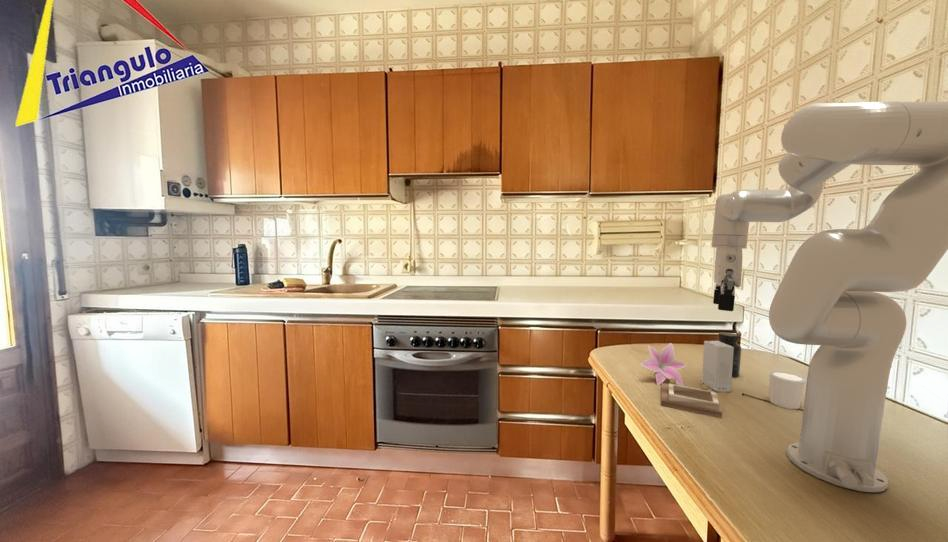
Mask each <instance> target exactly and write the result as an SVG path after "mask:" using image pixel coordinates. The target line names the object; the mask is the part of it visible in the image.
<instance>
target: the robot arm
mask: <svg viewBox="0 0 948 542" xmlns="http://www.w3.org/2000/svg"><path fill="white" fill-rule="evenodd" d="M780 136H781V137H780V140H781V141H780V142H781V145H782V148H783V149H784V150H785V151H786V152H787V153H786V154H784V156H782V157H781V159H780V161H779V162H778V173H779V175H780V177H781V179H782V180H783V181H784V182H785V183H786V184H787V185H789V186H788V187H787V188H785V189H781V190H780V189H739V190H738V189H737V190H734V191H733V192H731V193H724V194H720V195H719V196H717V198H716V200H715V208H714V218H713V228H712V229H713V230H712V239H711V248H716V252H715V260H714V269H713V270H714V272H713V274H714V275H713V281H714V283H715V285H714V291H713V300H712V301H713V304H714V305H717V310H718V311H723V312H724V311H726V312H733V311H734V309H735V298H736V295H735V292H736V291H735V289H736V288H740V287H741V286H742V274H743V273H742V272H743V249H744V250H745V249H747V246H748V238H749V236H748V235H749V226H750V223H783V222H787V221H790V220H792V219H794V218H797V217H798V216H799V215H802V214H804V213H805V212H806V211H808V210H809V209H812V207H813V206H814V205H816V203H817V202H818V201H819V199H820V197H821V195H822V192H823V190H824V185H825V184H824V182H826V181H828V180H829V179H831V178H833V177H834V176H835V175H837V174H838V173H840V172H842V171H843V170H845V169H846V168H848V167H849V166H851V165H860V166H917V167H919V171H918V172H917V173H915V174H914V175H912V176H910V177H908V178H907V179H905V180H904V181H902V183H900V184H899V185H898V186H897V187H895V188H894V189H893V190H892V191H891V192H890V193H889V194H888V195H887V196H886V197H885V199H884V200H883V201H882V202H881V204H880V206H879V208H878V210H877V212H876V213H875V215H874V216H873V217H872V219H871V220H870V222H869V223H868V224H867V225H866V226H865V227H863V228H861V229H859V228H857V229H856V228H853V229H852V228H836V229H835V228H834V229H833V228H832V229H827V230H822V231H820V232H817V233H815V234H813V235H811V236H809V238H807V239H806V240H805V241H804V242H802V244H801V245H799V247H798V248H797V250H796V251H795V253H794V255H793V257H792V259H791V261H790V262H789V266H788V267H787V269H786V271H785V274H784V275H783V277H782V280H781V281H780V284H779V286H778V288H777V289H776V292H775V294H774V296H773V298H772V301H771V303H770V307H769V312H768V321H769V325H770V328H771V330H772V331H773V333H774V334H775V335H776V336H777V337H778V338H780V339H781V340H783V341H785V342H788V343H792V344H797V345H806V346H818V348H817V349H816V350H815V352H814V353H813V355H812V357H811V359H810V362H809V366H808V370H807V371H808V372H807V378H806V384H805V386H806V387H805V393H804V403H803V411H802V418H801V428H800V433H799V434H800V436H799V441H798V442H794V443H790V444H788V446H787V448H786V455H787V457H788V458H789V460H790V461H791V462H792V463H793V464H794V465H795V466H797V467H798V468H800V469H801V470H802V471H804V472H806V473H808V474H809V475H811V476H814V477H816V478H818V479H820V480H823V481H824V482H827V483H830V484H833V485H835V486H839V487H842V488H844V489H849V490H853V491H856V492H864V493H881V492H884V491H886V490H887V489H886V488H888V485H889V479H888V476H886V475H885V474H884V472H883V471H882V470H880V469H879V468H878V467H876V466H877V460H878V454H879V453H878V452H879V446H880V438H881V433H882V424H883V418H884V411H885V410H884V409H885V406H886V404H885V403H886V397H887V391H888V385H889V379H890V374H891V369H892V365H893V362H894V359H895V356H896V353H897V351H898V348H899V346H900V344H901V342H902V340H903V338H904V336H905V333H906V328H907V316H906V313H905V311H904V309H903V307H902V306H901V305H900V304H899V303H898V302H897V301H895V300H894V299H893V298H891V297H889V296H887V295H885V294H882V293H897V292H906V291H911V290H913V289H915V288H917V287H919V286H920V285H921V284H923V282H924V281H925V280H926V279H927V278H928V277H929V275H930V274H931V273H932V272H933V270H934V269H935V268H936V266H937V265H938V263H939V262H940V261H941V259H942V258H943V257H944V255H945V254H946V253H947V251H948V101H939V100H937V101H936V100H935V101H860V102H815V103H811V104H808V105H806V106H804V107H802V108H801V109H799V110H798V111H796V112H795V113H794V114H792V116H791V117H790V118H789V119H788V121H787V122H786V123H785V125H784V127H783V128H782V130H781V135H780ZM885 489H886V490H885Z"/></svg>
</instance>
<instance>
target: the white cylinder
mask: <svg viewBox="0 0 948 542" xmlns="http://www.w3.org/2000/svg"><path fill="white" fill-rule="evenodd" d="M806 384H807V379H806V378H804V377H803V376H800V375H796V374H793V373H789V372H784V371H769V402H770V403H772V404H774V405H775V406H778V407H781V408H784V409H790V410H798V409H800V407H801V402H802V399H803V395H804V390H805V388H806V387H805V386H806Z"/></svg>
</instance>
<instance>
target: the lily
mask: <svg viewBox="0 0 948 542" xmlns="http://www.w3.org/2000/svg"><path fill="white" fill-rule="evenodd" d="M647 349H648V351H649V354H650V358H647V359H645V360H643V361H642V362H640V366H641V367H643V368H645V369H647V370H651V371H652V372H654V373H653V376H655V381H656V385H657V386H660V385H661V384H662V383H664V382H665V381H666V379H668V380H670V378H673V379H676V385H682V386H685V384H684V381H683V378H682V375H681V373H680V371H679V370H681V369H683V368H685V367H687V364H686V363H684V362H682V361H680V360H678V359H677V360H676V359H675V358H676V353H675V348H674V345H673V343H671V342H670V343H668V344H667V345H666V346H665V347H663V349H662V350H661V351H659V350H658V349H656V348H655V347H653V346H650V345H647Z"/></svg>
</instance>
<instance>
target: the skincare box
mask: <svg viewBox="0 0 948 542" xmlns="http://www.w3.org/2000/svg"><path fill="white" fill-rule="evenodd" d="M733 351H734V347H732V346H729V345H727V344H724V343H722V342H720V341H719V340H704V341H703V356H702V361H703V362H702V376H701V377H702V380H701V384H703V383H704V384H706V385H708V388H710V389H712V391H714V392H720V393H721V392H722V393H728V392H729V393H730V392H731V391H732V381H733V377H732V366H733Z"/></svg>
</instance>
